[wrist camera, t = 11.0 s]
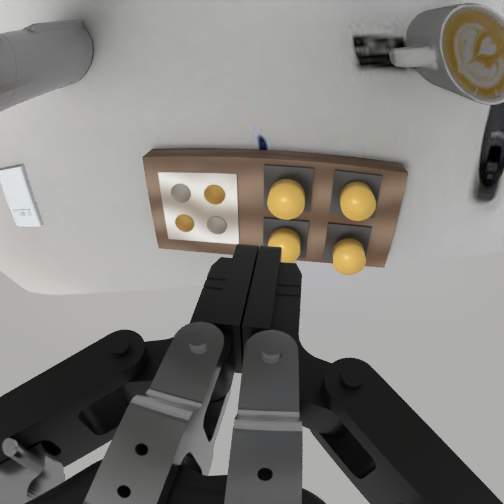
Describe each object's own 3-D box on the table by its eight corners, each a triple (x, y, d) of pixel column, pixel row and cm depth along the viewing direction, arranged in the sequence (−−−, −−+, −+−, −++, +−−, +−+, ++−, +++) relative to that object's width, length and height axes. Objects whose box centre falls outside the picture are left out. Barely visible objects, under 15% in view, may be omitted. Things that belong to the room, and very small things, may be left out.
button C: (341, 179, 34) (343, 187, 33) (375, 183, 34) (378, 191, 32) (337, 210, 37) (338, 219, 35) (369, 213, 36) (372, 222, 35)
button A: (269, 177, 35) (267, 185, 33) (306, 180, 34) (306, 188, 32) (268, 209, 37) (266, 218, 35) (303, 212, 36) (303, 221, 35)
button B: (269, 226, 40) (267, 235, 38) (301, 229, 39) (301, 238, 38) (268, 252, 42) (266, 262, 40) (299, 255, 42) (298, 265, 40)
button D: (334, 237, 38) (335, 246, 36) (366, 239, 37) (368, 249, 36) (330, 263, 40) (330, 273, 39) (360, 265, 40) (362, 276, 38)
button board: (152, 149, 40) (140, 158, 37) (401, 163, 36) (409, 174, 33) (166, 236, 48) (157, 250, 45) (380, 254, 44) (384, 269, 41)
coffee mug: (475, 17, 22) (520, 16, 14) (479, 92, 28) (523, 111, 20) (372, 3, 25) (395, -11, 17) (381, 83, 30) (406, 97, 23)
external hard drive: (25, 162, 44) (45, 222, 51) (1, 167, 45) (20, 222, 52) (20, 166, 43) (40, 227, 50) (-4, 171, 44) (15, 226, 51)
